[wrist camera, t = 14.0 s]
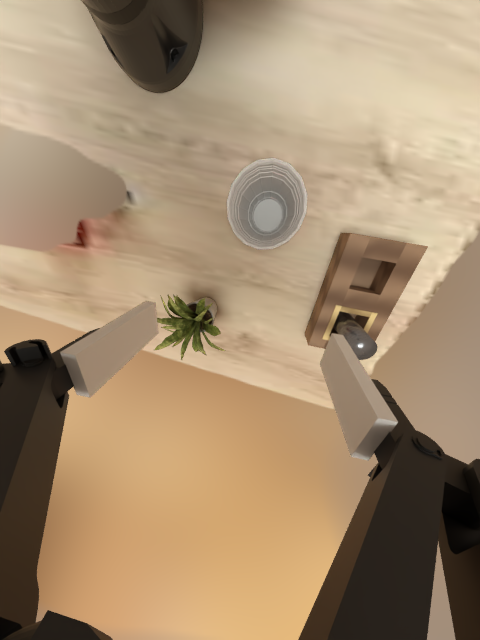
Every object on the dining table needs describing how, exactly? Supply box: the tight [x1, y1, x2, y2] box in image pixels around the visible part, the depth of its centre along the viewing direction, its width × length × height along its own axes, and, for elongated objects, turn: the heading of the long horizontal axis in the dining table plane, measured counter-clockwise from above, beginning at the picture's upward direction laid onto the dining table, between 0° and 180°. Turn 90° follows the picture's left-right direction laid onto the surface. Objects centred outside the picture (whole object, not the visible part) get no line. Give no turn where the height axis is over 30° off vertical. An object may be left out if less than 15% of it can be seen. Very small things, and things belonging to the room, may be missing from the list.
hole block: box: [305, 233, 428, 349], centre depth 37 cm, size 22×12×5 cm, turn 171°
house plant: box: [155, 294, 225, 360], centre depth 39 cm, size 14×14×16 cm
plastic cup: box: [227, 158, 307, 250], centre depth 31 cm, size 11×11×12 cm
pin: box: [333, 311, 377, 360], centre depth 36 cm, size 4×4×13 cm
